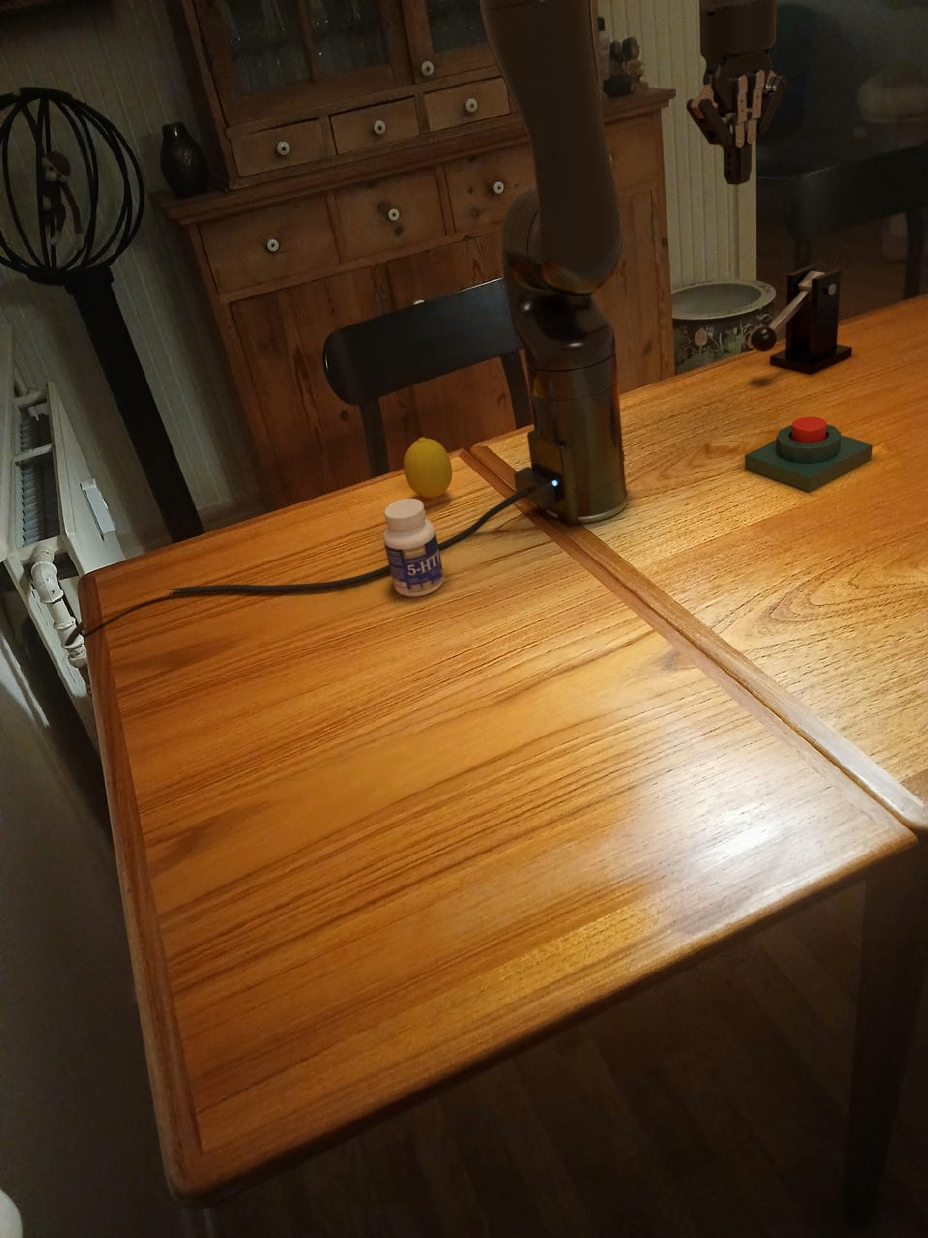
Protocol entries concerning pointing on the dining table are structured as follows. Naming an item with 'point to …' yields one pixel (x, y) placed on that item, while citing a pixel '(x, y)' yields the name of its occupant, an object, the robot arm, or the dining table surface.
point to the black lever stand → (813, 325)
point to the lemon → (427, 468)
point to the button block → (808, 458)
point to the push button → (808, 430)
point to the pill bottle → (412, 549)
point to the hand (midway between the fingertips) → (737, 182)
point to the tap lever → (783, 316)
